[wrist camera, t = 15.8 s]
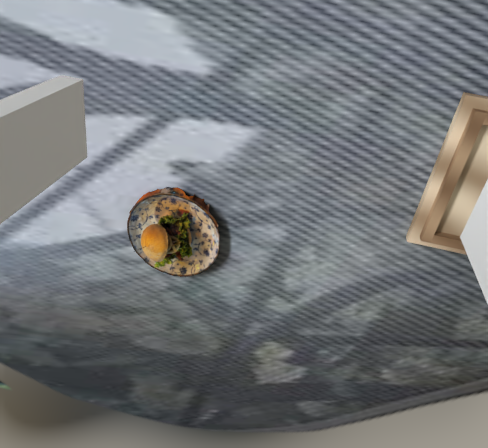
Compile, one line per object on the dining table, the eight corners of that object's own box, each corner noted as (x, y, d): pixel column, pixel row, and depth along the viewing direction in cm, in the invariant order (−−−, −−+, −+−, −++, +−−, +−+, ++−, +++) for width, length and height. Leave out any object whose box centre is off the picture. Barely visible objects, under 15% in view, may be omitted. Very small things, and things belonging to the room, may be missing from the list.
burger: (177, 282, 59) (157, 320, 53) (113, 218, 56) (84, 251, 50) (244, 240, 54) (231, 277, 47) (178, 167, 50) (154, 196, 44)
